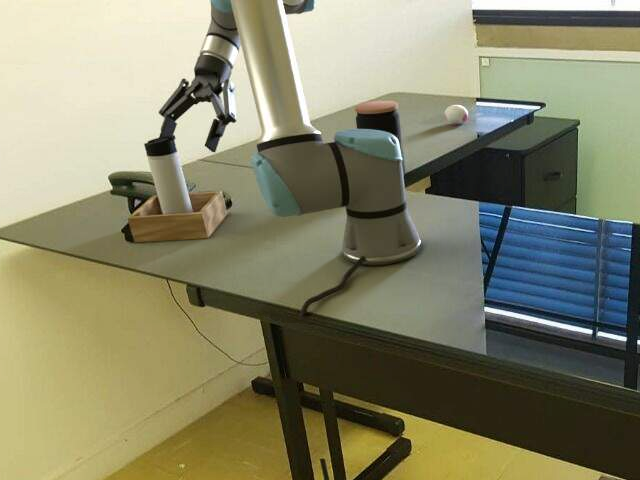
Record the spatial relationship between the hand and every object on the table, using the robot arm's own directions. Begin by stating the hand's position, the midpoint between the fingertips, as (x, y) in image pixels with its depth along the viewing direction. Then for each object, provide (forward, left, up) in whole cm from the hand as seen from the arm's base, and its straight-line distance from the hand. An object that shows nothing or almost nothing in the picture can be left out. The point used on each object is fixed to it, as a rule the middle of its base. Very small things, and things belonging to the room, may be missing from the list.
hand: (185, 147), depth 173 cm
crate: (-6, +3, -16) cm, 17 cm away
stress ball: (+81, -58, -16) cm, 101 cm away
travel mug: (-6, +3, -16) cm, 18 cm away
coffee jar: (+23, -40, -16) cm, 49 cm away
